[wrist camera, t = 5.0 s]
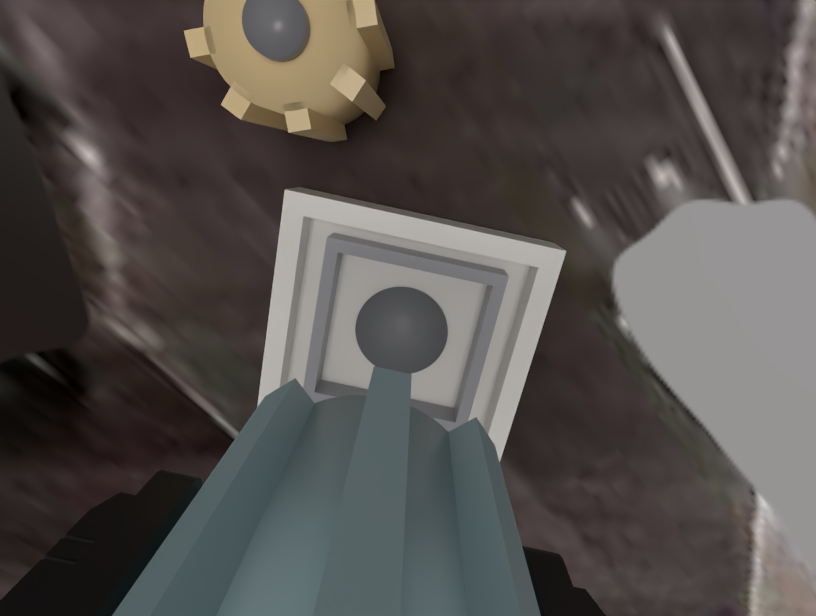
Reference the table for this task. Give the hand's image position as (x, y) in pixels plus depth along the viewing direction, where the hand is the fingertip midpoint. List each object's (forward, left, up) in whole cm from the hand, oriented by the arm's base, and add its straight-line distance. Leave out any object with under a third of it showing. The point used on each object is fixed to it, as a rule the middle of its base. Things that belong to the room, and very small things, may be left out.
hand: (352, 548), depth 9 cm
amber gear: (+6, -10, -17) cm, 20 cm away
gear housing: (0, +5, -17) cm, 17 cm away
